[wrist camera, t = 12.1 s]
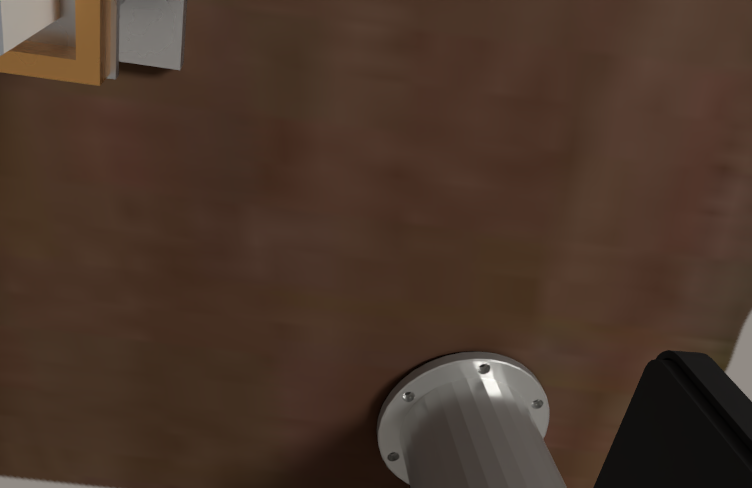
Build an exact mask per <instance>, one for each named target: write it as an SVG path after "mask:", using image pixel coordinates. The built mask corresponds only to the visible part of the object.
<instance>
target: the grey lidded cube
mask: <svg viewBox="0 0 752 488" xmlns="http://www.w3.org/2000/svg"><path fill="white" fill-rule="evenodd" d="M59 18H60V0H0V56H1V55H3V54H4V53H6V52H7V51H9V50H11V49H12V48H14V47H15V46H17V45H18V44H20V43H22V42H23V41H25V40H26V39H28V38H29V37H31V36H32V35H34V34H36V33H37V32H39V31H40V30H42V29H43V28H45V27H46V26H48V25H50V24H51V23H53V22H54V21H56V20H57V19H59Z"/></svg>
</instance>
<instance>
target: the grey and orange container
mask: <svg viewBox="0 0 752 488" xmlns="http://www.w3.org/2000/svg"><path fill="white" fill-rule="evenodd" d="M186 9H187V0H60V18H59V19H57V20H56V21H54V22H53V23H51V24H50V25H48V26H46V27H45V28H43V29H42V30H40V31H39V32H37V33H36V34H34V35H32V36H31V37H29V38H28V39H26V40H25V41H23V42H22V43H20V44H18V45H17V46H15V47H14V48H12V49H11V50H9V51H7V52H6V53H4V54H3V55H1V56H0V72H3V73H10V74H17V75H25V76H32V77H39V78H47V79H54V80H61V81H68V82H76V83H83V84H90V85H98V86H100V85H101V84H102V83H103V81H104V80H105V79H106V78H109V79H116V78H117V77H118V76H119V61H120V62H127V63H133V64H140V65H147V66H154V67H161V68H168V69H175V70H180V69H181V67H182V65H183V62H184V44H185V26H186Z"/></svg>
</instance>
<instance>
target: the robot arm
mask: <svg viewBox="0 0 752 488" xmlns="http://www.w3.org/2000/svg"><path fill="white" fill-rule="evenodd" d="M548 423H549V405H548V400H547V396H546V394H545V392H544V390H543V388H542V386H541V384H540V383H539V381H538V380H537V378H536V377H535V376H534V374H533V373H532V372H531V371H530V370H528V369H527V368H526V367H525V366H524V365H523V364H521V363H519V362H517V361H515V360H513V359H511V358H509V357H506V356H502V355H499V354H496V353H488V352H462V353H457V354H452V355H447V356H444V357H441V358H438V359H436V360H433V361H430V362H428V363H426V364H424V365H423V366H421V367H419V368H417V369H415V370H414V371H412V372H411V373H410V374H409V375H407V376H406V377H405V378H403V379H402V380H401V381H400V382H399V383H398V384H397V385H396V386H395V388H394V389H393V390H392V391H391V392H390V393H389V395H388V397H387V398H386V400H385V402H384V403H383V405H382V408H381V410H380V413H379V416H378V421H377V430H376V431H377V438H378V445H379V449H380V453H381V456H382V458H383V460H384V462H385V463H386V465H387V467H388V468H389V469H390V470H391V471H392V472H393V473H394V474H395V475H396V477H398V478H400V479H401V480H403V481H404V482H406V483H407V484H409V485H410V488H567V487H566V485H565V483H564V481H563V479H562V477H561V475H560V473H559V471H558V469H557V467H556V465H555V463H554V461H553V458H552V456H551V454H550V452H549V450H548V448H547V446H546V444H545V442H544V440H543V438H544V436H545V434H546V431H547V427H548ZM594 488H752V402H751V401H750V399H748V397H747V396H746V395H745V394H744V393H743V392H742V391H741V390H740V389H739V388H738V386H737V385H736V384H735V383H734V382H733V381H732V380H731V379H730V378H729V377H728V376H727V375H726V374H725V372H724V371H723V370H722V369H721V368H720V367H719V366H718V365H717V364H716V363H715V362H714V361H713V359H712V358H710V357H709V356H708V355H706V354H703V353H696V352H683V351H670V350H668V351H664V352H662V353H661V354H659V355H658V356H657V358H656V359H655V360H651V361H650V362H649V363H648V364H647V366H646V367H645V369H644V372H643V374H642V376H641V379H640V381H639V383H638V386H637V388H636V390H635V392H634V395H633V397H632V399H631V402H630V404H629V406H628V409H627V411H626V413H625V416H624V418H623V420H622V423H621V425H620V427H619V430H618V432H617V434H616V437H615V439H614V441H613V444H612V446H611V448H610V450H609V453H608V455H607V457H606V460H605V462H604V464H603V467H602V469H601V471H600V474H599V476H598V478H597V481H596V483H595V485H594Z"/></svg>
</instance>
